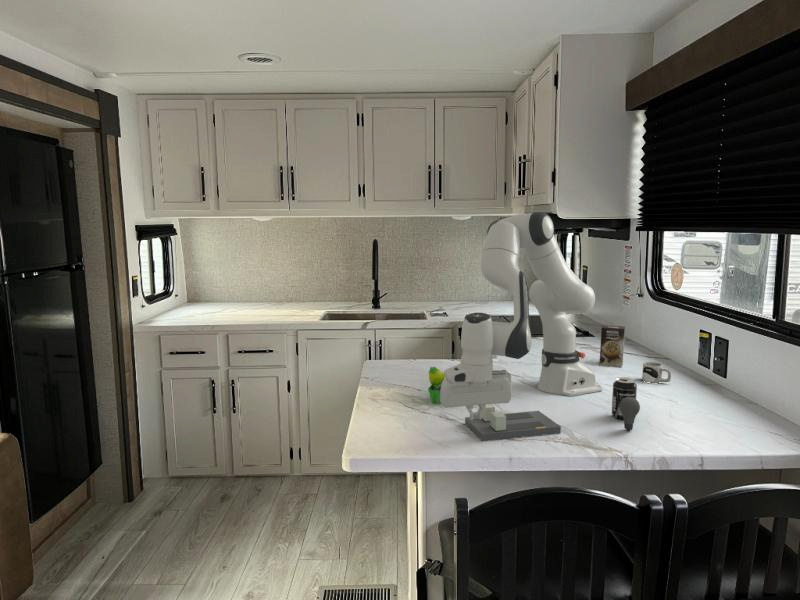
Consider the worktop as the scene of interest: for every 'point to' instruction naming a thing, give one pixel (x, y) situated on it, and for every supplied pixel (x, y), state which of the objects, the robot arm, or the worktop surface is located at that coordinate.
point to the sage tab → (498, 421)
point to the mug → (654, 372)
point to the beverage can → (622, 394)
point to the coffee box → (612, 346)
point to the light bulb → (629, 411)
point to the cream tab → (488, 412)
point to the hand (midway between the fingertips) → (475, 419)
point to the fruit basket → (435, 384)
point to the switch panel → (515, 426)
